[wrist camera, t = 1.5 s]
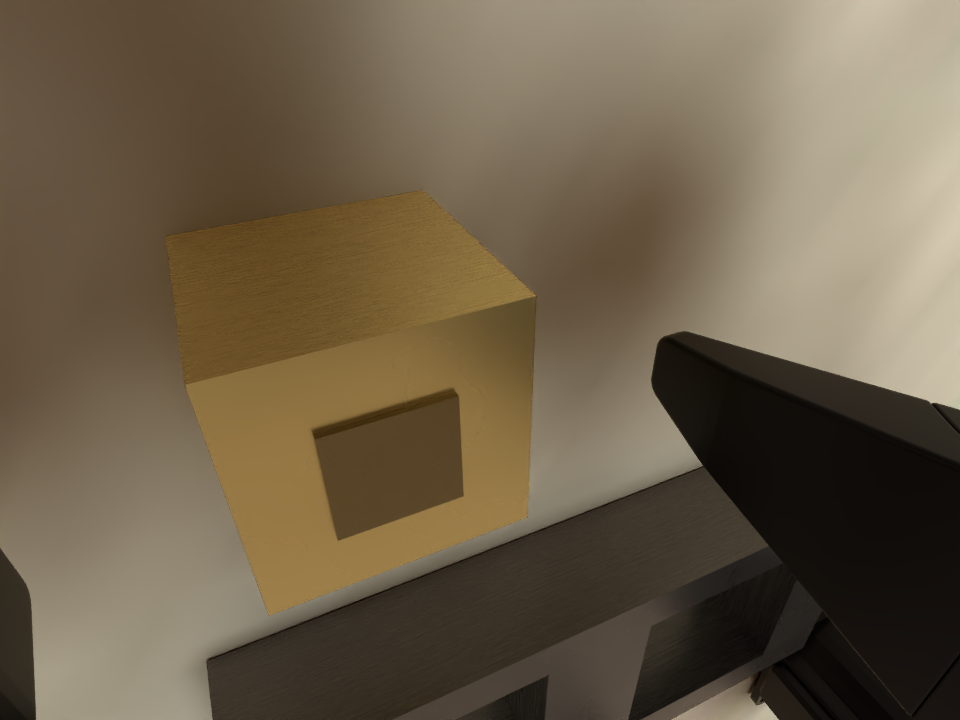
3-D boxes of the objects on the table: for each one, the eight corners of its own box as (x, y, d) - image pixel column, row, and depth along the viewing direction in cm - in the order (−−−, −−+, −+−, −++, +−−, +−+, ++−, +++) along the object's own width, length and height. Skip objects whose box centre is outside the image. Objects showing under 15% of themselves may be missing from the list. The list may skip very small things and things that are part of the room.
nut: (420, 188, 11) (540, 300, 8) (435, 378, 13) (530, 521, 10) (165, 233, 9) (185, 389, 6) (231, 436, 12) (269, 621, 9)
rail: (798, 430, 20) (881, 493, 18) (742, 582, 25) (802, 647, 23) (206, 661, 14) (221, 798, 12) (278, 803, 19) (298, 921, 17)
